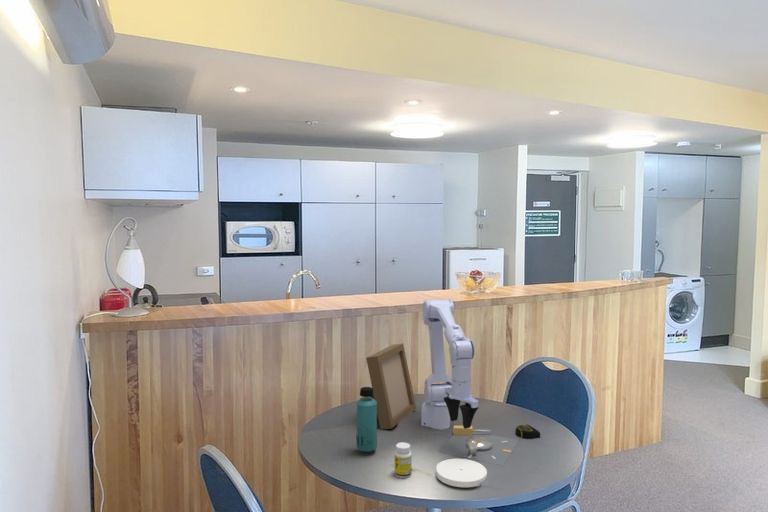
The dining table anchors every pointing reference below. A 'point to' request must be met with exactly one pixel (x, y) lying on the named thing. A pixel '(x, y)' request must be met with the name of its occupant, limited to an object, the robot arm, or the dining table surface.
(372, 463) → the dining table surface
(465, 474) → the plastic lid
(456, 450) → the panel
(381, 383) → the photo frame
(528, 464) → the dining table surface
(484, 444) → the silver rounded piece
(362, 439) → the beverage bottle
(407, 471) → the supplement bottle
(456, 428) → the screwdriver
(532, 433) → the tape measure
